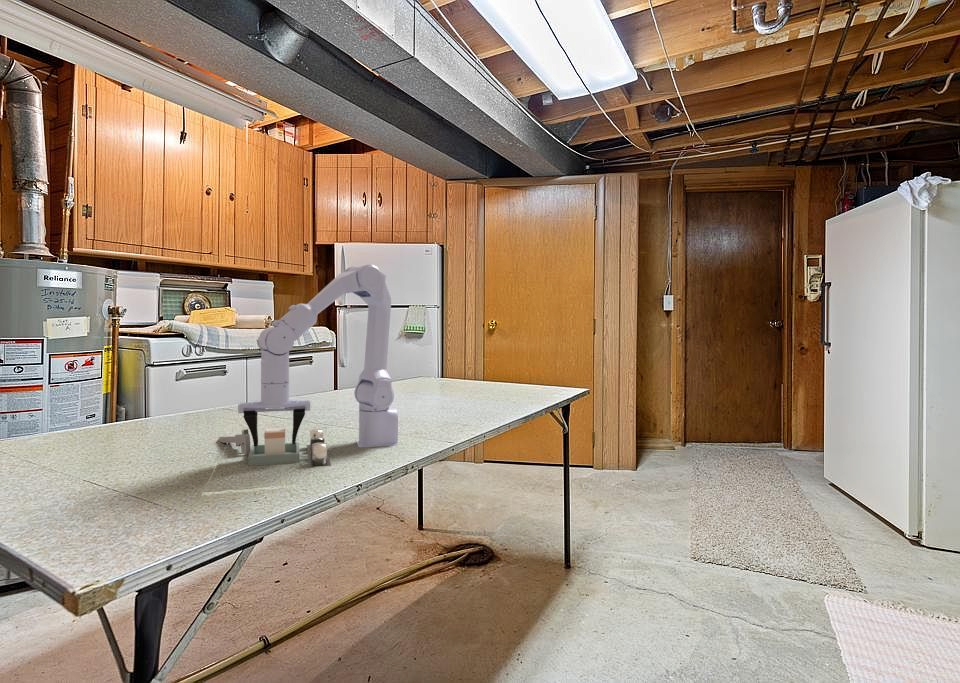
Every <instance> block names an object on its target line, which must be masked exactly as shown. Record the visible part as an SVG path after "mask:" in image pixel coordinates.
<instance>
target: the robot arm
mask: <svg viewBox="0 0 960 683" xmlns="http://www.w3.org/2000/svg"><path fill="white" fill-rule="evenodd" d="M386 277H387V276H386V274H385V273H384V272H383V271H382V270H381V269H380V268H379V267H378V266H376V265H375V264H371V263H368V264H364V265H359V266H350V267H348V268H346V269H345V270H344V271H343V272H341V273H339V274H338V275H336V276H335V278H333V279H332V280H331V281H330V282H329V283H328V284H327V285H326V286H324V288H323V289H321V291H319V292H318V293H317V294H316V295H315V296H314V297H313V298H312V299H311V300H309V301H308V303H298V304H296V305H295V304H292V305H290V306H289V307H288V310H289V311H288V312H286V314H284V315H283V316H282V317H281V318H279V319H278V320H277V319H275V320H274V321H272V325H273V326H271V327H266V328H264V329H263V330H262V331H261V332H260V334H259V336H258V339H256V344H257V346H258V348H259V349H260V351H261V361H260V400H259V401H253V402H249V401H248V402H239V403H238V404H237V413H238V414H243V419H244V422H245V423H246V425H247V428H248V430H249V431H250V436H251V437H252V441H253V445H254V446H258V445H259V435H258V413H265V412H267V413H268V412H270V413H272V412H287V411H288V412H289V411H290V412H292V415H293V416H292V436H291V443H292V444H296V443H297V441H296V440H297V435H298V432H299V429H300V427H301V424H302V422H303V420H304V418H305V416H306V412H308V411H311V401H310V400H290V351H291V350H292V349H293V348H294V344H295V342H296V341H297V340H298V339H299V338H301V337H302V336H303V335H304V334H305V333H306V332H307V331H308V330H310V329H311V328H312V327H313V326H314V325H316V324H317V322H318V314H320V313H322V311H324V310H325V309H326V308H328V307H329V306H330V305H331V304H333V303H335V301H337V300H338V299H340V297H342V296H344V295H345V294H351V293H352V294H354V295H356V296H358V297H360V299H361V300H362V301H363V302H364V303H365V304H366V305H367V308H368V311H367V321H366V322H367V324H366V337H365V338H366V339H365V352H364V366H363V367H364V368H363V370H362V371H361V372H360V374H359V376H358V382H357V384H356V386H355V389H354V398H355V400H356V402H357V403H358V438H356V439H355V442H356V444H357V446H358V448H374V447H389V446H398V445H399V442H398V441H399V436H398V435H399V415H398V414H399V413H398V411H397V408H395V407H391V408H390V406H391V405H392V404H393V402H394V398H395V393H394V390H393V386H392V377H391V375H390V374H389V373H388V371H387V366H388V364H387V363H388V354H389V352H388V350H389V337H390V323H391V311H392V310H391V308H392V297H391V295H390V292H389V289H388V286H387V284H386V280H387V279H386Z"/></svg>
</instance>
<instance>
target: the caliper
mask: <svg viewBox="0 0 960 683" xmlns="http://www.w3.org/2000/svg"><path fill="white" fill-rule="evenodd" d="M250 436H251V433H249V428H247V429H241V433H239V434H235V435H229V436H228V435H227V436H226V435H224V436H218V437H219V438H218V439H217V441H218V442H220V443H221V442H222V443H221V444H227V443H228V444H229V443H230V444H232V443H233V444H235V447H240V449H241V453H242V455H245V456H249V453H250V450H251V437H250Z"/></svg>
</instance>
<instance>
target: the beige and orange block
mask: <svg viewBox="0 0 960 683" xmlns="http://www.w3.org/2000/svg"><path fill="white" fill-rule="evenodd" d="M263 436H264V438H263V439H264V445H265V455H273V454H285V443H286V427H279V428H278V427H275V428H265V430H264V435H263Z"/></svg>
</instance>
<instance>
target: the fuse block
mask: <svg viewBox="0 0 960 683" xmlns="http://www.w3.org/2000/svg"><path fill="white" fill-rule="evenodd" d="M309 441H310V442H309V444H307V445H306V449H307V450H306V452H307V460H308V467H309V468H317V467H319V468H320V467H331V466H332V464H331V459H330V455H329V450H328V443H326V442H325V438H324V429H323V428H314V429H310V430H309Z"/></svg>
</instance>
